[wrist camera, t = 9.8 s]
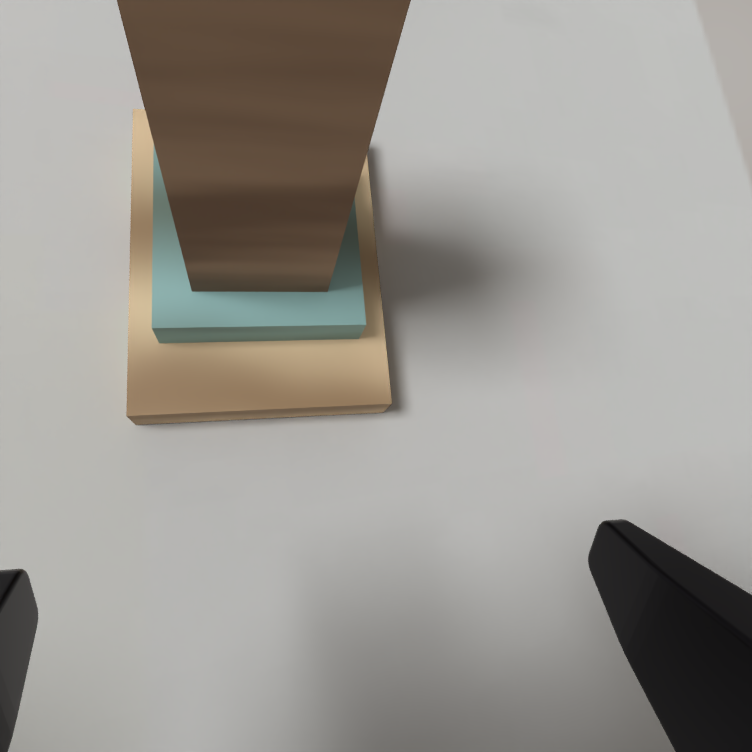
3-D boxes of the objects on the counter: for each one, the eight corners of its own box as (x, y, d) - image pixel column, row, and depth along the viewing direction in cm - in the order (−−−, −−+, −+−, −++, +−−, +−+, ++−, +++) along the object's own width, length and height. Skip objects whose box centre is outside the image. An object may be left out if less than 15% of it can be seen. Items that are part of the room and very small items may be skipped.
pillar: (327, 291, 20) (429, -67, 8) (191, 291, 19) (87, -115, 7) (320, 178, 21) (399, -278, 9) (192, 172, 20) (101, -343, 8)
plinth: (383, 412, 22) (401, 393, 20) (135, 424, 20) (116, 405, 18) (357, 145, 25) (370, 96, 23) (140, 134, 24) (124, 79, 21)
